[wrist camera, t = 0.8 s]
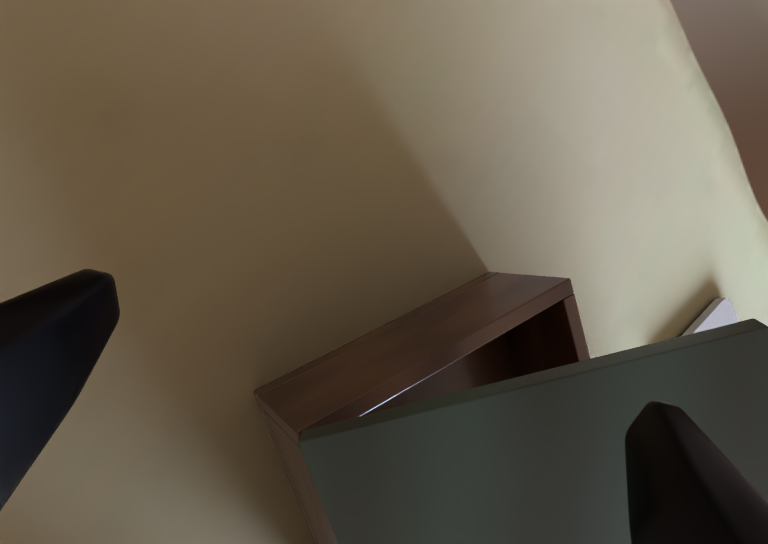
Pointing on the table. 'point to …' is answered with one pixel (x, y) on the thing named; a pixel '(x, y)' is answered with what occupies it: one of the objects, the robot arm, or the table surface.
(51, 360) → the robot arm
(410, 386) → the case
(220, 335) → the table surface
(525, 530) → the cover
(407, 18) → the table surface
